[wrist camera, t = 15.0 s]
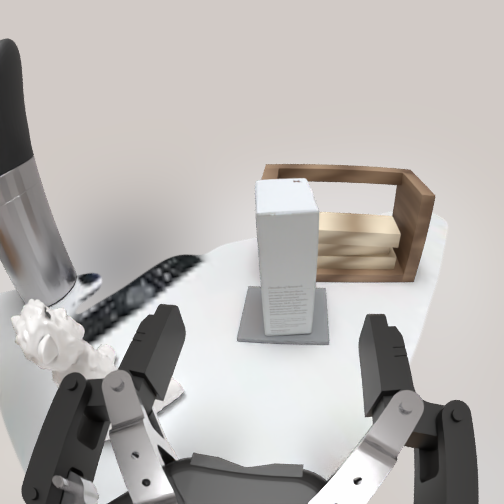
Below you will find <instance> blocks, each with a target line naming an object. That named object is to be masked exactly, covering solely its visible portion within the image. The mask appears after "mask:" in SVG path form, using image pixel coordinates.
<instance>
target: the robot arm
mask: <svg viewBox="0 0 504 504" xmlns="http://www.w3.org/2000/svg"><path fill="white" fill-rule="evenodd" d="M22 81H23V79H22V67H21V60H20V54H19V50H18V48H17V46H16V44H15V43H14V42H13V41H12V40H11V39H3V40H0V260H1V262H2V264H3V266H4V268H5V270H6V272H7V274H8V275H9V277H10V279H11V281H12V283H13V284H14V286H15V288H16V290H17V292H18V293H19V295H20V297H22V299H23V301H24V302H25V304H27V303H28V302H29V300H30V299H34V300H36V299H38V300H40V301H41V302H43V303H44V305H46V306H50V305H52V304H54V303H55V302H57V301H58V300H60V299H61V298H62V297H64V296H65V295H66V294H67V293H68V292H69V290H70V289H71V288H72V286H73V285H74V283H75V281H76V271H75V270H74V267H73V265H72V262H71V260H70V258H69V256H68V253H67V251H66V249H65V246H64V244H63V241H62V239H61V236H60V234H59V231H58V229H57V226H56V223H55V221H54V218H53V215H52V213H51V210H50V207H49V204H48V201H47V198H46V195H45V192H44V189H43V186H42V182H41V179H40V176H39V173H38V169H37V166H36V162H35V158H34V156H33V155H34V154H33V150H32V146H31V141H30V135H29V129H28V123H27V118H26V112H25V105H24V94H23V82H22ZM185 335H186V331H185V326H184V323H183V320H182V317H181V314H180V311H179V308H178V306H176V305H166V304H160V305H159V306H158V308H157V310H156V312H155V314H154V315H150V314H149V315H148V316H147V317H146V318H145V319H144V320H143V321H142V322H141V323H140V325H139V327H138V329H137V331H136V333H135V335H134V337H133V341H131V344H130V346H129V348H128V350H127V352H126V354H125V356H124V358H123V360H122V362H121V364H120V367H119V368H118V370H115V371H112V372H110V373H109V374H107V375H106V376H105V378H102V379H86V378H85V377H84V376H83V375H82V374H80V373H78V372H73V373H70V374H68V375H66V376H65V377H64V378H63V380H62V381H61V384H60V386H59V388H58V390H57V392H56V395H55V397H54V399H53V402H52V404H51V406H50V409H49V411H48V413H47V416H46V418H45V421H44V423H43V426H42V429H41V431H40V434H39V436H38V439H37V442H36V445H35V447H34V450H33V453H32V456H31V459H30V462H29V465H28V468H27V471H26V475H25V478H24V481H23V485H22V497H23V499H24V501H25V503H26V504H98V502H97V500H98V499H99V495H98V493H97V489H96V487H95V485H94V484H93V480H94V476H95V473H96V469H97V466H98V462H99V459H100V455H101V452H102V449H103V445H104V442H105V439H106V436H107V432H108V429H109V426H110V423H111V426H112V429H111V430H109V437H110V441H111V444H112V447H113V450H114V453H115V456H116V459H117V462H118V465H119V468H120V471H121V473H122V476H123V479H124V481H125V484H126V487H127V489H128V491H127V492H126V493H124V494H122V495H121V496H119V497H118V498H116V499H114V500H113V501H111V502H109V503H108V504H366V503H367V502H368V500H369V499H370V498H371V497H372V495H373V494H374V493H375V492H376V490H377V489H378V488H379V486H380V485H381V484H382V482H383V481H384V480H385V478H386V477H387V475H388V474H389V473H390V471H391V470H392V468H393V467H394V465H395V463H396V461H397V456H398V454H399V453H400V451H401V449H402V448H403V446H407V447H412V448H414V459H415V460H414V463H415V464H414V465H415V478H414V504H478V469H477V455H476V445H475V438H474V430H473V423H472V417H471V411H470V409H469V407H468V406H467V405H466V403H464V402H462V401H460V400H453V401H450V402H449V403H447V404H446V405H445V406H444V405H438V404H433V403H429V402H426V401H424V400H422V398H421V397H420V396H419V395H418V394H417V393H416V392H415V389H414V386H413V381H412V376H411V371H410V366H409V362H408V357H407V353H406V349H405V344H404V340H403V336H402V335H401V333H400V332H399V331H398V329H397V328H396V326H391V327H388V324H387V320H386V316H385V315H384V314H367V315H366V318H365V321H364V325H363V328H362V331H361V334H360V338H359V357H360V366H361V376H362V386H363V398H364V412H365V417H372V418H373V425H372V426H371V427H370V429H369V430H368V432H367V433H366V434H365V436H364V437H363V438H362V440H361V441H360V442H359V444H358V445H357V446H356V447H355V449H354V450H353V451H352V452H351V454H350V455H349V456H348V457H347V459H346V460H345V461H344V462H343V463H342V464H341V465H340V467H339V468H338V469H337V470H336V471H335V472H334V473H333V475H332V476H331V477H330V478H329V479H328V480H327V481H326V480H325V479H324V478H322V477H321V476H319V475H318V474H316V473H314V472H311V471H308V470H305V469H303V465H298V464H269V465H262V466H255V467H243V466H240V465H237V464H235V463H232V462H229V461H227V460H224V459H222V458H219V457H214V456H208V455H202V454H197V453H193V455H192V458H183V459H180V460H179V459H178V457H177V455H176V453H175V451H174V450H173V448H172V447H171V445H170V444H169V442H168V440H167V438H166V436H165V434H164V431H163V429H162V427H161V424H160V422H159V419H158V417H157V415H156V412H155V410H154V407H153V404H154V401H155V399H156V400H160V401H164V398H165V395H166V392H167V389H168V386H169V383H170V381H171V378H172V375H173V372H174V369H175V366H176V363H177V360H178V358H179V355H180V352H181V349H182V346H183V344H184V341H185Z"/></svg>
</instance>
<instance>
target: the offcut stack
mask: <svg viewBox="0 0 504 504" xmlns="http://www.w3.org/2000/svg"><path fill="white" fill-rule="evenodd" d="M400 236H401V234H400V231H399V229H398V227H397V225H396V222H395V220H394V218H393V216H384V215H369V214H351V213H331V212H319V236H318V258H317V269H394V266H395V262H396V258H397V257H396V255H395V253H394V250H393V248H392V247H396V248H398V246H399V241H400Z"/></svg>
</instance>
